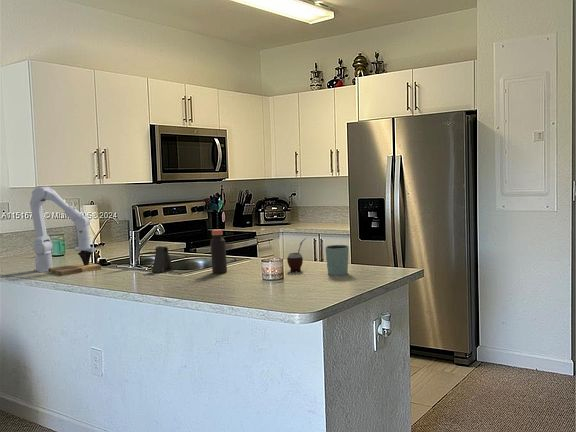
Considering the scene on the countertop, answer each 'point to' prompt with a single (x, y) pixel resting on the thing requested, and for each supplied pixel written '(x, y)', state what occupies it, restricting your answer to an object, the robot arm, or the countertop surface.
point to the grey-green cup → (337, 259)
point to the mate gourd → (295, 260)
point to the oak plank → (87, 267)
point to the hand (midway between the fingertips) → (86, 265)
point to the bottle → (218, 252)
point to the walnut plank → (64, 270)
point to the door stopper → (162, 260)
